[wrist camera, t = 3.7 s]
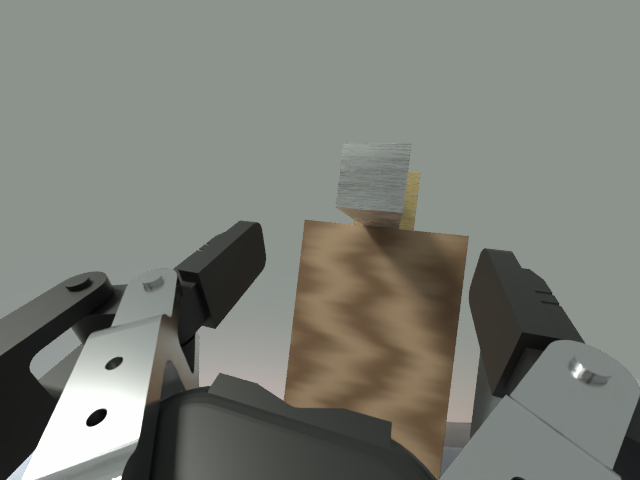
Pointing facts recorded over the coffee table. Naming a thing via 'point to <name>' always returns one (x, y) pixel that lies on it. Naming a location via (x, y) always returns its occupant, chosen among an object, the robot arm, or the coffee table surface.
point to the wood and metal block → (378, 185)
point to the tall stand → (378, 328)
